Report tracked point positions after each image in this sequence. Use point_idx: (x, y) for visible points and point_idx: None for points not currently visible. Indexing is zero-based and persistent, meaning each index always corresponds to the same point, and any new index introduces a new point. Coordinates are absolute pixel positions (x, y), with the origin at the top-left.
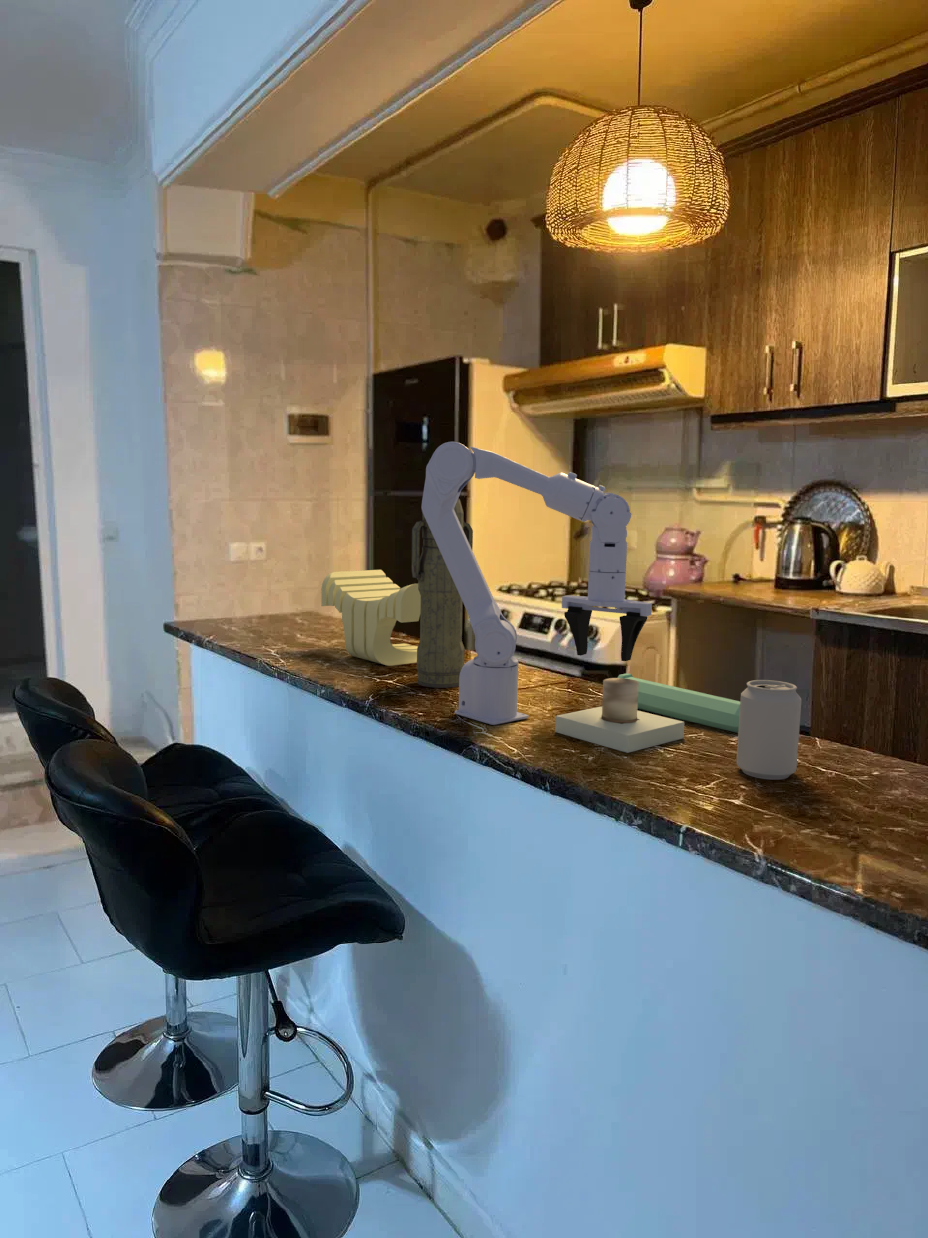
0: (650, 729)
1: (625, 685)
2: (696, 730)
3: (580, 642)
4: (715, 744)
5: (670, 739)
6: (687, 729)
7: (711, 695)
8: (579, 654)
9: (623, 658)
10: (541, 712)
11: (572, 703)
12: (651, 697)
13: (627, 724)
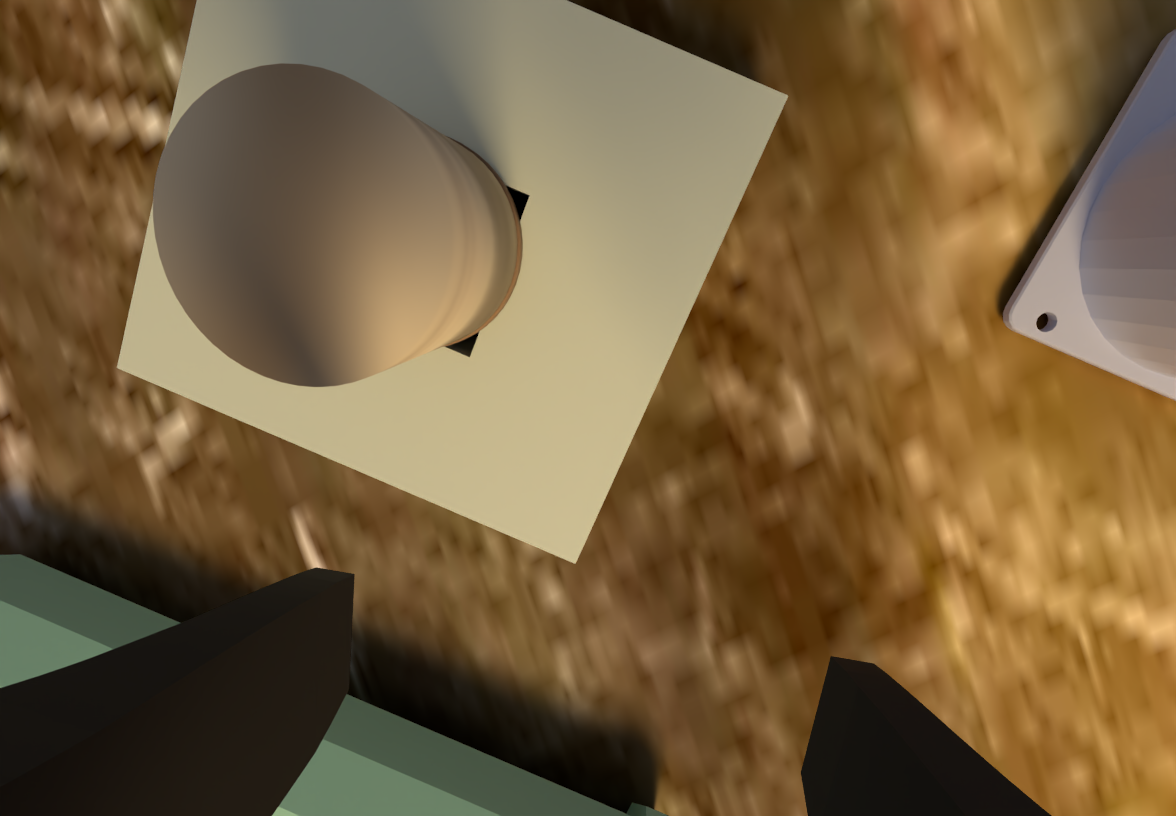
0: (185, 87)
1: (205, 92)
2: (190, 523)
3: (896, 767)
4: (37, 326)
5: None
6: (227, 521)
7: None
8: (850, 662)
9: (315, 578)
10: (968, 501)
11: None
12: (429, 771)
13: None
